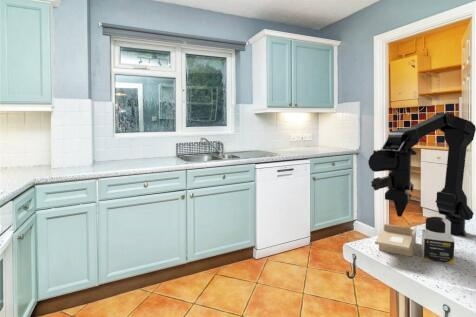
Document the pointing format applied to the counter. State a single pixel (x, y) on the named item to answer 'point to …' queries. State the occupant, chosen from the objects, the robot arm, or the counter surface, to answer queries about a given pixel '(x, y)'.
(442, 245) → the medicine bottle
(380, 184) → the robot arm
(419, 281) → the counter surface
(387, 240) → the lid
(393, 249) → the mailer box
